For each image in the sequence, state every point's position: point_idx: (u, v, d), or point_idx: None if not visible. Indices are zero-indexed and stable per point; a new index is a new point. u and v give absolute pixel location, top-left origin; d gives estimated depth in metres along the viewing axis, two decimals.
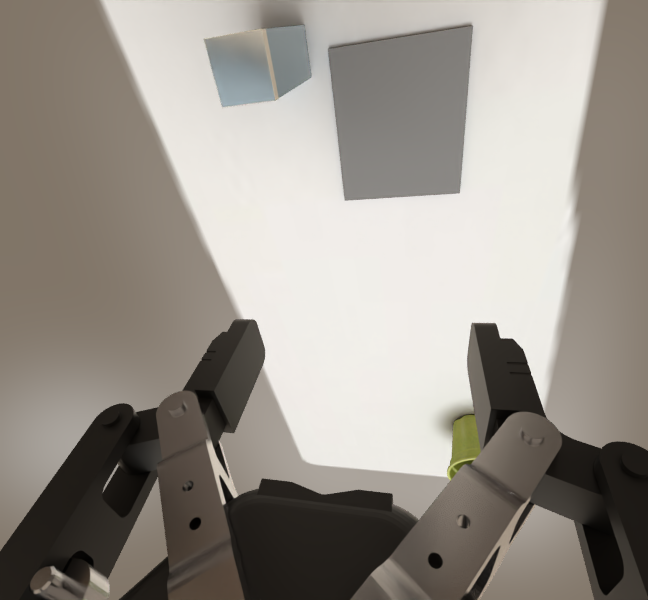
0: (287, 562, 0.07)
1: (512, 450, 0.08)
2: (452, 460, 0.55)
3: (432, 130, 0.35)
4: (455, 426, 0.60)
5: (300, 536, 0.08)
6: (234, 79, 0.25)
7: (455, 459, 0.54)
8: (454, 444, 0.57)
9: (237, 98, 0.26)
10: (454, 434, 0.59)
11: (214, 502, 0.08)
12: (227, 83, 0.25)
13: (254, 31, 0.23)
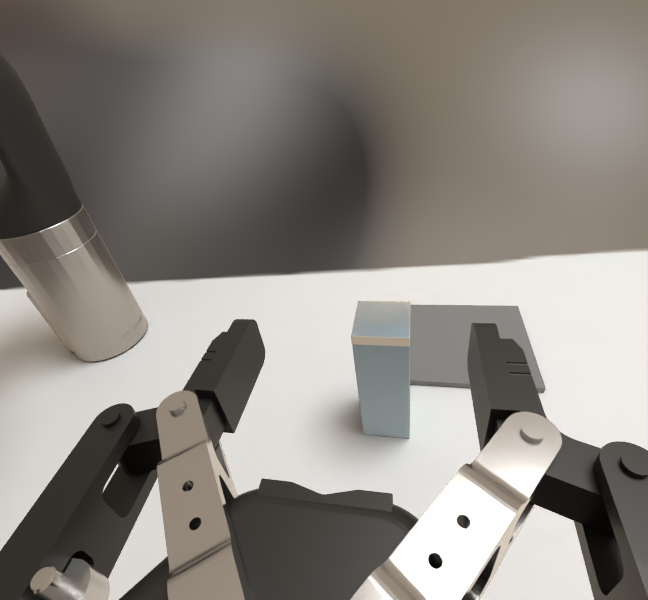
0: (287, 563, 0.07)
1: (512, 450, 0.08)
2: None
3: (462, 321, 0.42)
4: None
5: (300, 536, 0.08)
6: (387, 323, 0.27)
7: None
8: None
9: (403, 325, 0.26)
10: None
11: (214, 502, 0.08)
12: (389, 328, 0.26)
13: (358, 304, 0.29)
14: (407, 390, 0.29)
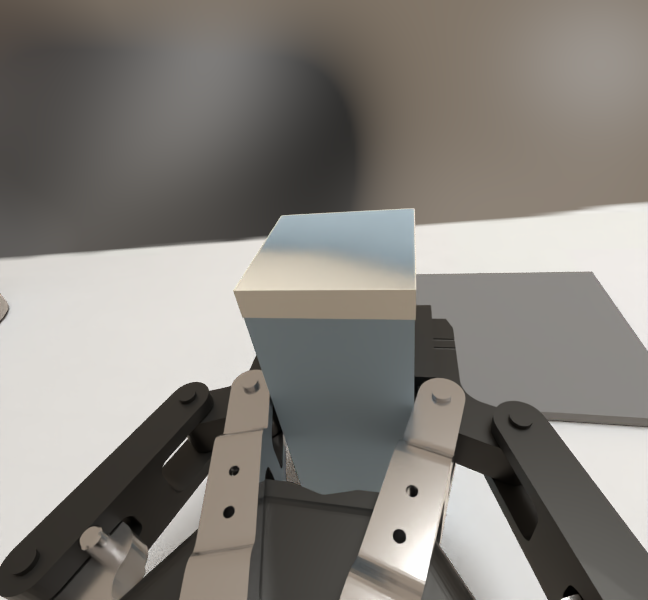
0: (287, 563, 0.07)
1: (421, 409, 0.10)
2: None
3: (499, 297, 0.25)
4: None
5: (300, 536, 0.08)
6: (348, 255, 0.09)
7: None
8: None
9: (396, 256, 0.09)
10: None
11: (251, 498, 0.08)
12: (353, 267, 0.09)
13: (279, 222, 0.11)
14: None
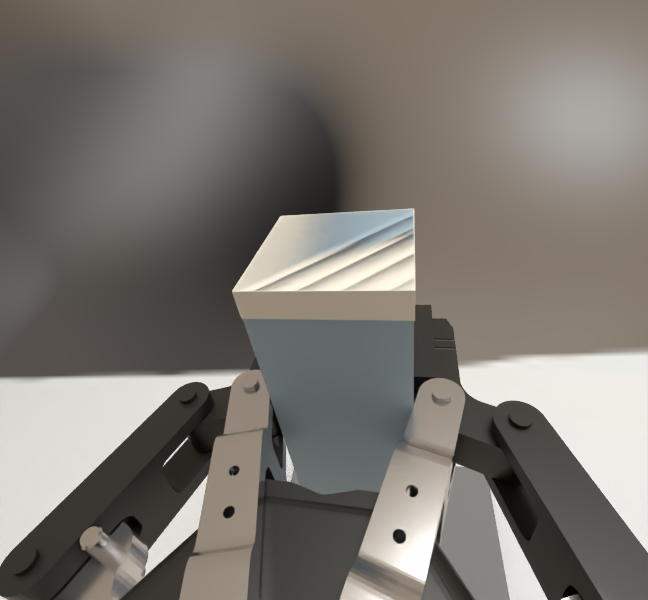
0: (287, 563, 0.07)
1: (421, 409, 0.10)
2: None
3: None
4: None
5: (300, 536, 0.08)
6: (347, 256, 0.09)
7: None
8: None
9: (395, 257, 0.09)
10: None
11: (251, 498, 0.08)
12: (352, 268, 0.08)
13: (278, 222, 0.11)
14: None
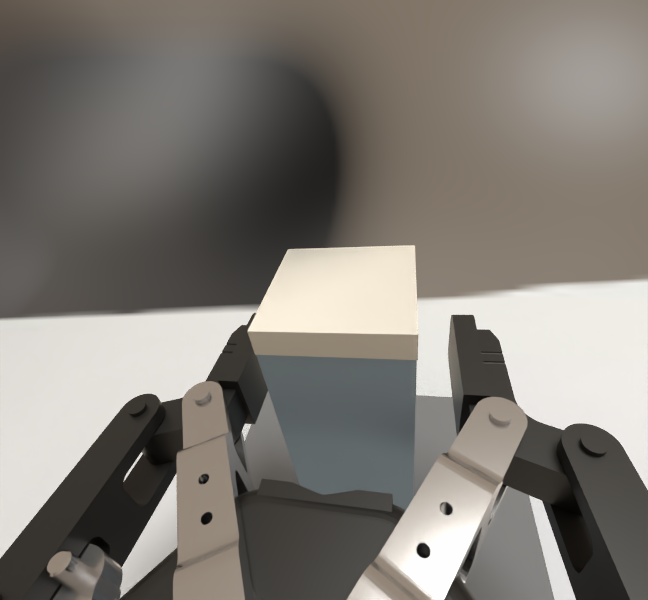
0: (287, 562, 0.07)
1: (480, 432, 0.09)
2: None
3: None
4: None
5: (300, 536, 0.08)
6: (354, 295, 0.10)
7: None
8: None
9: (398, 298, 0.09)
10: None
11: (227, 499, 0.08)
12: (359, 309, 0.09)
13: (286, 256, 0.12)
14: (410, 468, 0.11)
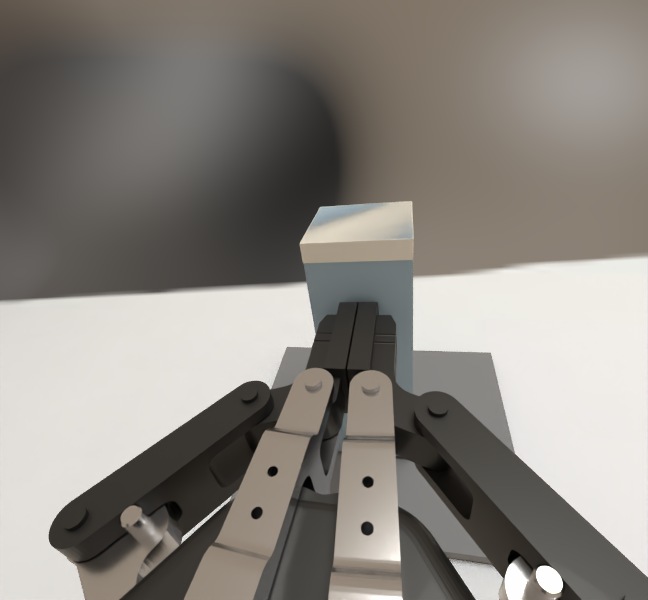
0: (287, 562, 0.07)
1: (349, 399, 0.10)
2: None
3: None
4: None
5: (300, 536, 0.08)
6: (370, 225, 0.14)
7: None
8: None
9: (400, 225, 0.14)
10: None
11: (280, 506, 0.08)
12: (374, 230, 0.14)
13: (320, 210, 0.16)
14: (410, 361, 0.16)
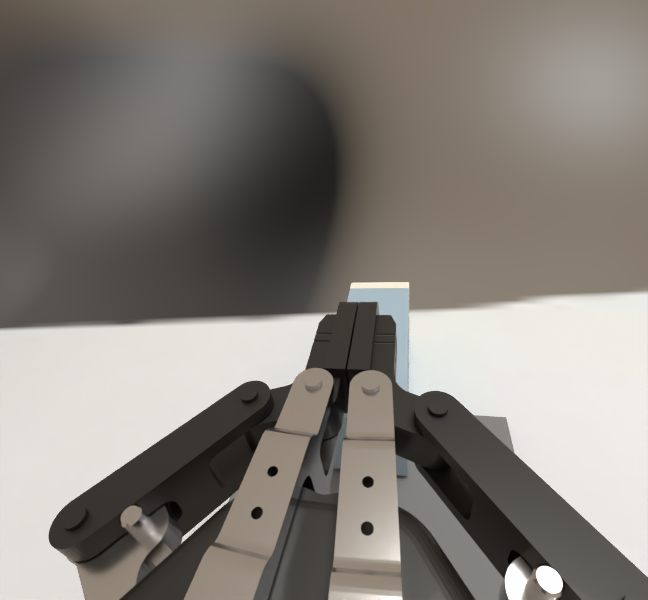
0: (287, 563, 0.07)
1: (350, 399, 0.10)
2: None
3: None
4: None
5: (300, 536, 0.08)
6: None
7: None
8: None
9: None
10: None
11: (280, 506, 0.08)
12: None
13: None
14: (406, 331, 0.21)
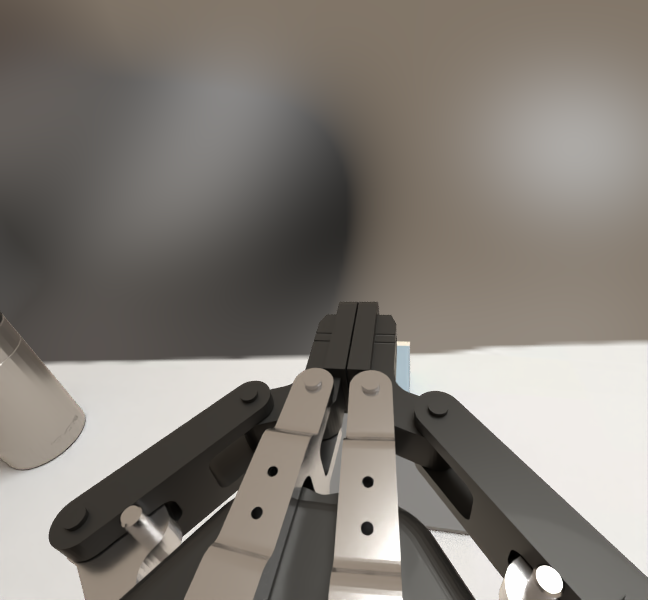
0: (287, 562, 0.07)
1: (349, 399, 0.10)
2: None
3: None
4: None
5: (300, 536, 0.08)
6: None
7: None
8: None
9: None
10: None
11: (280, 506, 0.08)
12: None
13: None
14: (408, 372, 0.43)
